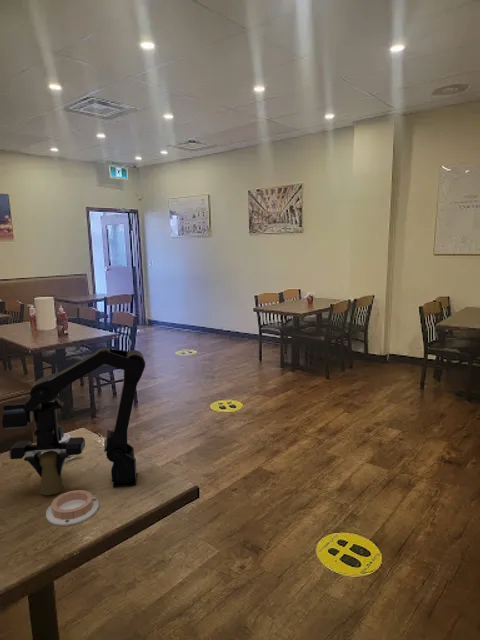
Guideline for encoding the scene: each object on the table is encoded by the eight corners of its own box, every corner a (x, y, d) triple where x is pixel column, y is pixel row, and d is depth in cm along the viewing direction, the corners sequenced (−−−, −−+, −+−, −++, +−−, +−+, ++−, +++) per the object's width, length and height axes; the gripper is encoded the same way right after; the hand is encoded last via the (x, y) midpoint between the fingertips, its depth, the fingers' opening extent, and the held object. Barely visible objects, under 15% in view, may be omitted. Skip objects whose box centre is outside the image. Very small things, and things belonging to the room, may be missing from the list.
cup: (51, 457, 144) (49, 434, 143) (82, 453, 146) (81, 430, 145) (47, 467, 137) (45, 443, 136) (81, 463, 140) (79, 439, 138)
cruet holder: (102, 494, 122) (102, 485, 121) (93, 523, 109) (92, 513, 109) (54, 498, 120) (53, 489, 120) (39, 528, 107) (38, 518, 107)
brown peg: (55, 496, 120) (51, 459, 118) (35, 493, 121) (32, 457, 119) (67, 484, 126) (64, 449, 124) (49, 482, 127) (46, 447, 125)
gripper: (87, 411, 129) (90, 459, 132) (21, 414, 127) (26, 464, 129) (78, 426, 118) (82, 479, 121) (6, 430, 116) (11, 484, 118)
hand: (51, 475), depth 123 cm, fingers closed on brown peg, 4 cm apart
